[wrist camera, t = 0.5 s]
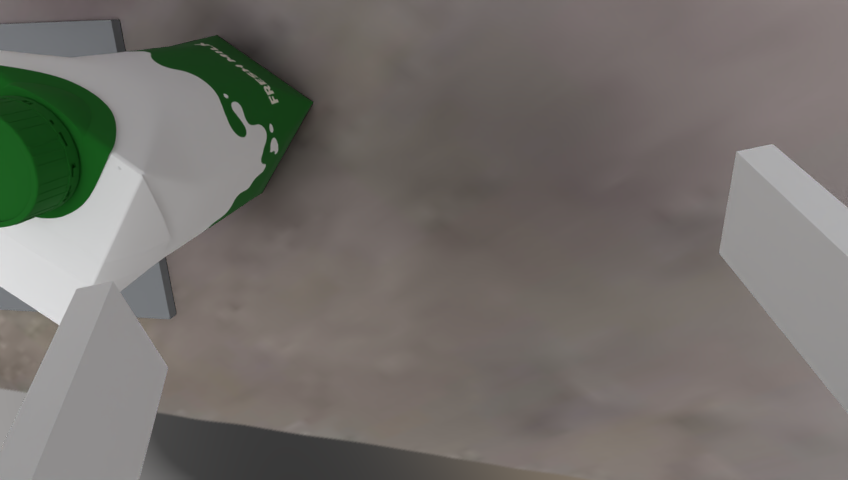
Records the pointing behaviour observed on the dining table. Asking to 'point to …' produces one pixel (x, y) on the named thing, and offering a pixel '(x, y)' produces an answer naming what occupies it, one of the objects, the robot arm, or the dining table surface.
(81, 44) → the mat
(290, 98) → the fresh milk carton
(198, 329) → the dining table surface
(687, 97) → the dining table surface
